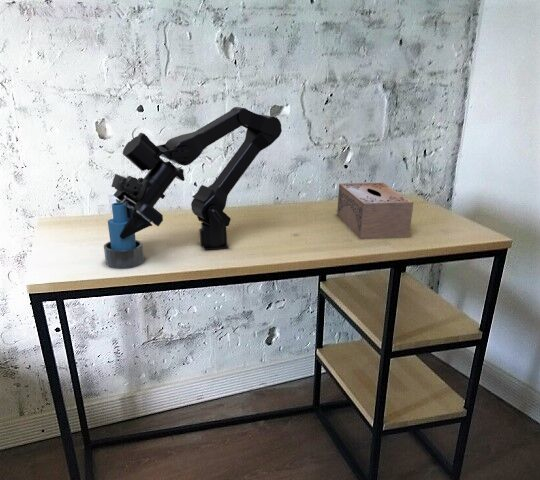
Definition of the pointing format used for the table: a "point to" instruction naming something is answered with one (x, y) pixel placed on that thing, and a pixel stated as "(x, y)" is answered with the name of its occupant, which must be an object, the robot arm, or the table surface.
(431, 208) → the table surface
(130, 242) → the bottle
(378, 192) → the tissue box cover
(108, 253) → the cup holder
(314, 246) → the table surface
